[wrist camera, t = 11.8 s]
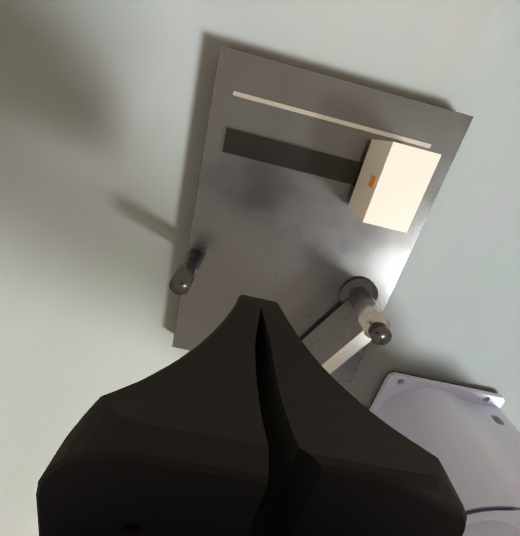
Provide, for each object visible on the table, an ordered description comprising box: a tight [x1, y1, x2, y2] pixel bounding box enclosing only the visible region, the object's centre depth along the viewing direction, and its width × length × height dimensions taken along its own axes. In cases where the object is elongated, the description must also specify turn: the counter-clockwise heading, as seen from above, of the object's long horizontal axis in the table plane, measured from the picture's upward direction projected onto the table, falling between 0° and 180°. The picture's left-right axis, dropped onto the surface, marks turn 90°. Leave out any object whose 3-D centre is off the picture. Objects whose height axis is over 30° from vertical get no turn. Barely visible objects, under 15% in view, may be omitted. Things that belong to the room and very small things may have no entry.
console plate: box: [169, 45, 473, 383], centre depth 18 cm, size 13×18×6 cm
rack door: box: [302, 287, 390, 374], centre depth 20 cm, size 10×1×3 cm, turn 139°
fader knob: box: [348, 139, 441, 233], centre depth 16 cm, size 2×4×3 cm, turn 166°
